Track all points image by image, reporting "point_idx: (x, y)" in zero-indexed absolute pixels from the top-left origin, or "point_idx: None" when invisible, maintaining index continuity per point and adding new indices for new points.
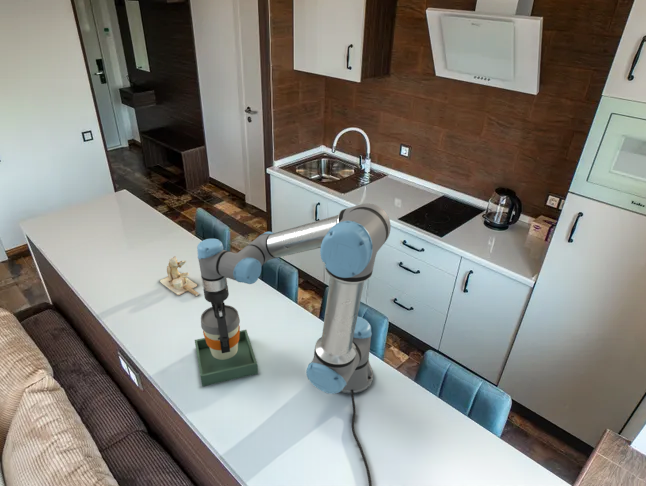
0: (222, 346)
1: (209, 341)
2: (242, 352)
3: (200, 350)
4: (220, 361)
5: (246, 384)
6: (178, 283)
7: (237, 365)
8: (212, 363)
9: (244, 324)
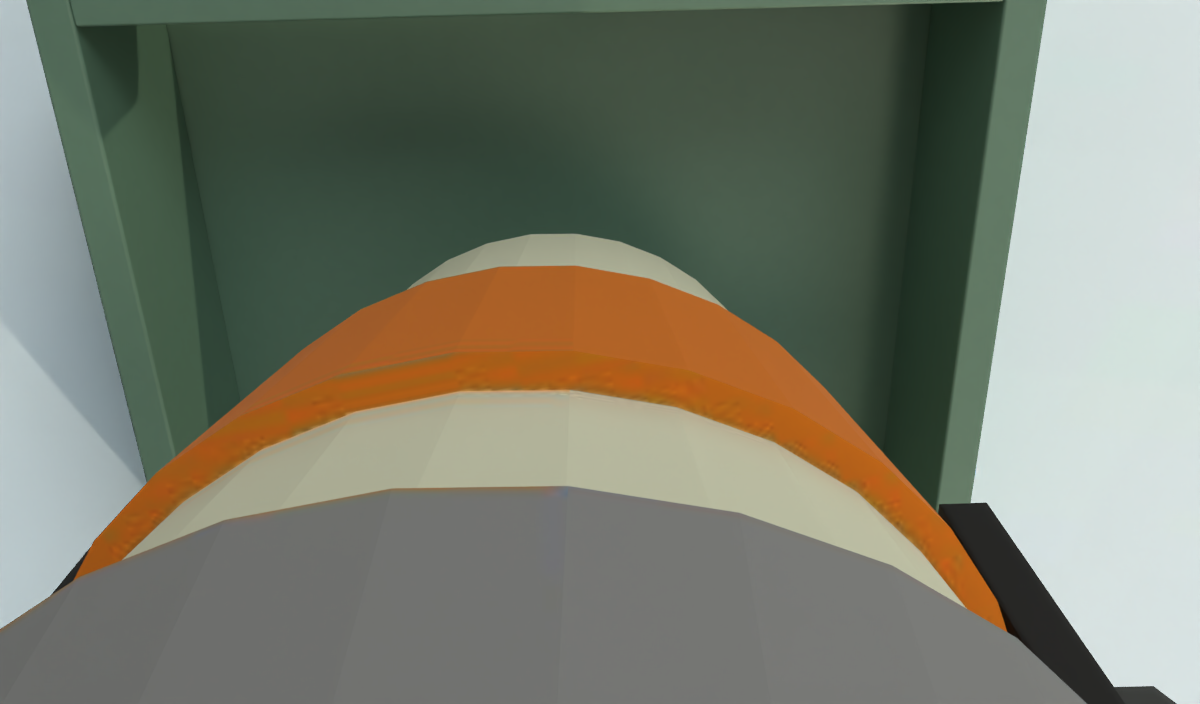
0: None
1: (190, 444)
2: None
3: (894, 18)
4: None
5: (119, 505)
6: None
7: None
8: (545, 170)
9: (1171, 627)
